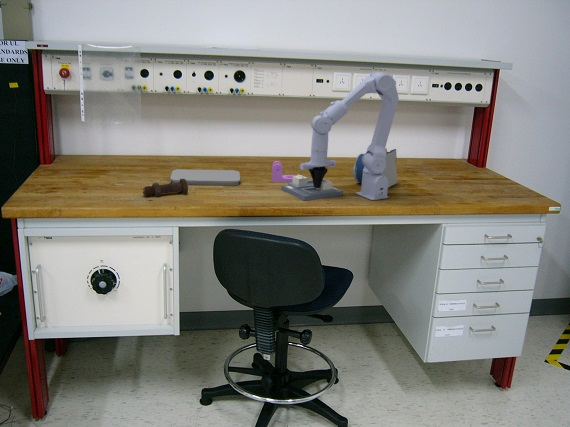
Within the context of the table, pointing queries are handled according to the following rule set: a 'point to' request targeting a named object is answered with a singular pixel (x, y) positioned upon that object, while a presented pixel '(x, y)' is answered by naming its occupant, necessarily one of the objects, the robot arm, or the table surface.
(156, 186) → the bolt
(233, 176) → the tablet
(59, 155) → the table surface
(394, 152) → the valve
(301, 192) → the switch bank
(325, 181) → the near tab
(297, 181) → the far tab
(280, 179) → the bracket
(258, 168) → the table surface
